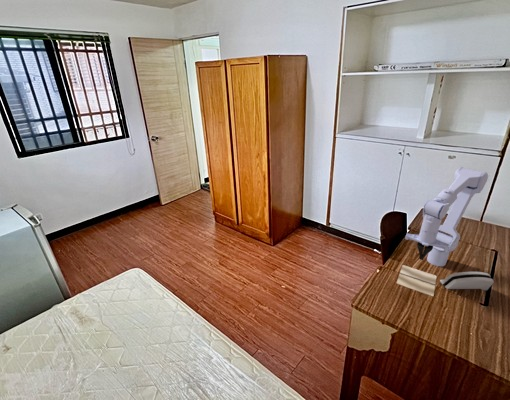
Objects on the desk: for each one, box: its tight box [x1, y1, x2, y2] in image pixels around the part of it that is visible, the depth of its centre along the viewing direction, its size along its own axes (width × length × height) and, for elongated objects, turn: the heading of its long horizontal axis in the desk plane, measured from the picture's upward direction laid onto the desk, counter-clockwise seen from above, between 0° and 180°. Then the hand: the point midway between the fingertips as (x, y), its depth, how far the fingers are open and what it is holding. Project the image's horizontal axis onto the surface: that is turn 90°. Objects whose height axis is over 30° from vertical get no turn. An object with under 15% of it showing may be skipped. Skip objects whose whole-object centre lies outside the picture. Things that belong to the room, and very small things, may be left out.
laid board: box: [399, 264, 437, 286], centre depth 116 cm, size 7×13×1 cm, turn 55°
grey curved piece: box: [439, 271, 495, 291], centre depth 108 cm, size 17×5×10 cm, turn 89°
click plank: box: [396, 273, 436, 297], centre depth 110 cm, size 7×13×1 cm, turn 55°
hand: (421, 258), depth 112 cm, fingers closed
